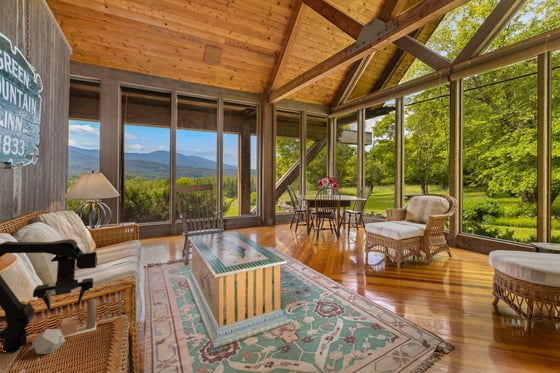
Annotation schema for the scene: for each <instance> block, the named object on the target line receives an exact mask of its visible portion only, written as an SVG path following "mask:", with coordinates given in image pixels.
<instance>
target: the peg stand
mask: <svg viewBox="0 0 560 373" xmlns="http://www.w3.org/2000/svg"><path fill="white" fill-rule="evenodd" d="M97 300H98V299H97V298H91V299H89V300H87V309H86V326H83V327H79V328H77V330H76V333H75V334H70V335H66V336H63V337H64V338H66V337H72V336H75V335H79V334H83V333H88V332H92V331H96V330H97V321H96V317H97V304H98V302H97Z"/></svg>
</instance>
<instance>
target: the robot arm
mask: <svg viewBox="0 0 560 373" xmlns="http://www.w3.org/2000/svg"><path fill="white" fill-rule="evenodd" d="M97 253H98V252H97V251H92V252H84V251H83V250H81V249H80V247H79V246H78V242H77V241H76V240H75V239H72V238H71V239H70V238H68V239H60V240H56V241H55V240H54V241H8V240H6V241H4V242H2V243H0V258H2V257H3V256H4V255H6V254H49V255H52V256H55V257H53V258H52V259H50V262H57V266H56V268H57V269H56V280H55V282H54V283H55V284H54V285H52V286H50V283H47V284H39V285H36V286H35V287H34V289H33V292H32V298H37V299H42V301H43V302H44V303H45V306H46V308H47V311H51V303H52V302H51V292H55V294H54V295H55V296H60V295H68V294H70V293H72V290H75V289H78V288H80V290H79V295H78V298H77V299H78V300H77V306H79V305H80V303H81V300H82V298H83V296H84V294H85V293H86V292H87V291H90V289H93V288H94V278H93V277H90V278H83V279H82V281H79V280H78V279H76V278H75V277H76V276H75V274H76V268H77V269H79V270H85V269H87V270H88V269H95V268H97V265H98V255H97ZM0 308H1V309H2V310H3V312H4V317H5V318H4V319H5V323H6V326H5V327H4V328H3V329H2V330H1V331H0V339H1V344H0V346H1V345H3V350H4V351H6V352H13V353H15V352H17V351H19V349H21V347H23V346H24V345H26V344H27V339H28V338H27V336H28V334H27V329H26V328H27V326H29V324H30V323H31V322H32V320H33V319H34V317H35V315H36V308H34V307H33V306H32V303H31V302H27V303H26V304H25V303H23V302H21V301H20V300H19V298H18V297H17V296H16V294H15V293H14V291H13V290H12V289H11V287H9V285H8V283H7V281H5V279H4V277H2V275H1V274H0ZM6 352H5V353H6Z"/></svg>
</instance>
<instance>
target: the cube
mask: <svg viewBox="0 0 560 373" xmlns="http://www.w3.org/2000/svg"><path fill="white" fill-rule="evenodd" d="M77 326H78V315H77V316H76V315H75V316H72V317H67V318H62V320H61V323H60V330H61V333H62V335H63V336H66V335H70V334H75V333H76V330H77Z"/></svg>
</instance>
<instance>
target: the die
mask: <svg viewBox="0 0 560 373" xmlns="http://www.w3.org/2000/svg"><path fill="white" fill-rule="evenodd" d="M60 330H61V328H60V329H59V328H58V329H57V328H56V329H54V328H46V329H45V330H44V331H43V332H41V333H40V334H39V335H38V336H37V337H36V338H35V339H34V340H33V341H32V342H31V344H32V346H33V349H34V351H35V353H36V354H37V355H48V354H52V353H54V352H56V351H57V350H58V349H59V348H60V347H61V346H62V345H63V344H64V343H65V342H66V339H65V337H63V335H62V333H61V331H60Z"/></svg>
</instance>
